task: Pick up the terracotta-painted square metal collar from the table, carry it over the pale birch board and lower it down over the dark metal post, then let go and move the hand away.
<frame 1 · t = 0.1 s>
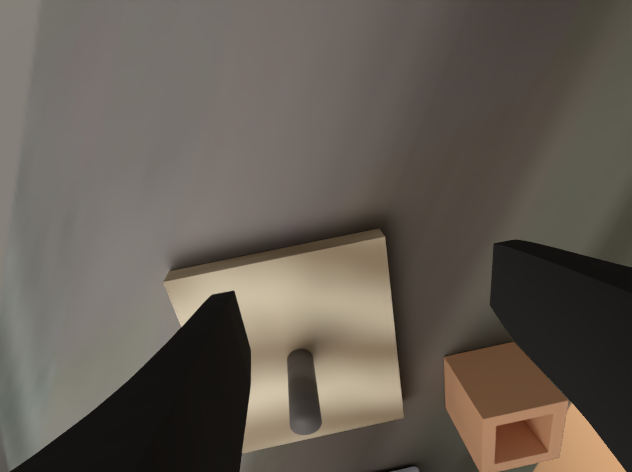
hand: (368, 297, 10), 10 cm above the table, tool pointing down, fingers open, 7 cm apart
post board: (298, 346, 23), on the table
square collar: (478, 376, 25), on the table
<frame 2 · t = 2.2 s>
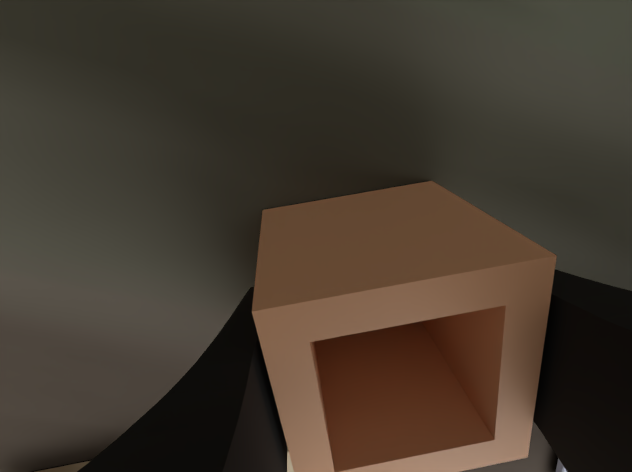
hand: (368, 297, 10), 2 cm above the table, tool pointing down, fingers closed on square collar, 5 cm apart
square collar: (356, 270, 11), on the table, touching gripper
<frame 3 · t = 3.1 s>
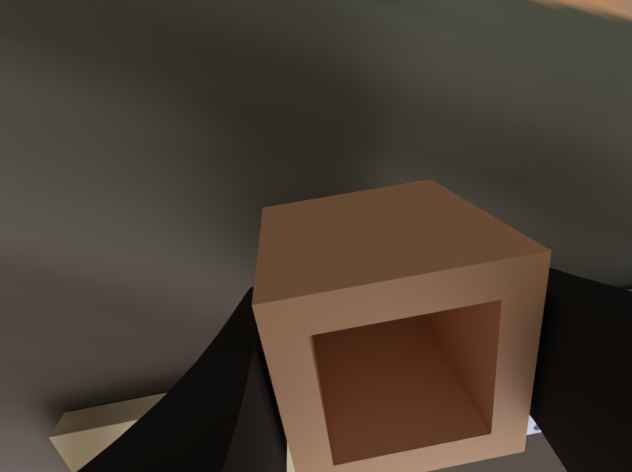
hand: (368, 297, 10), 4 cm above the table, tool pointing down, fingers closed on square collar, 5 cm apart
post board: (252, 467, 18), on the table
square collar: (355, 267, 11), point 3 cm above the table, touching gripper
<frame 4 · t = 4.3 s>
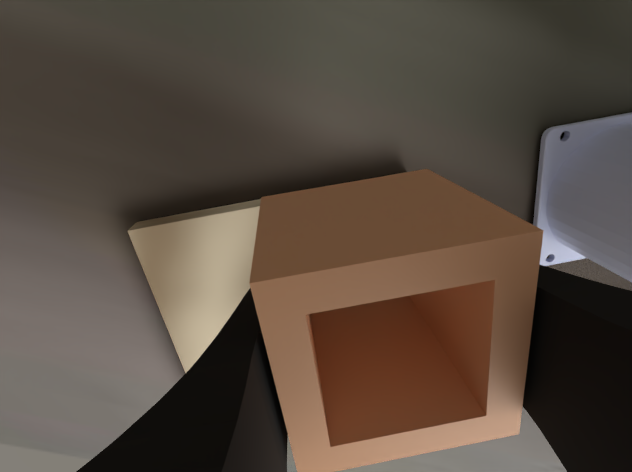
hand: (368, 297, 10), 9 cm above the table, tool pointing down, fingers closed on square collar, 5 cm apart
post board: (294, 294, 20), on the table
square collar: (353, 257, 11), point 7 cm above the table, touching gripper
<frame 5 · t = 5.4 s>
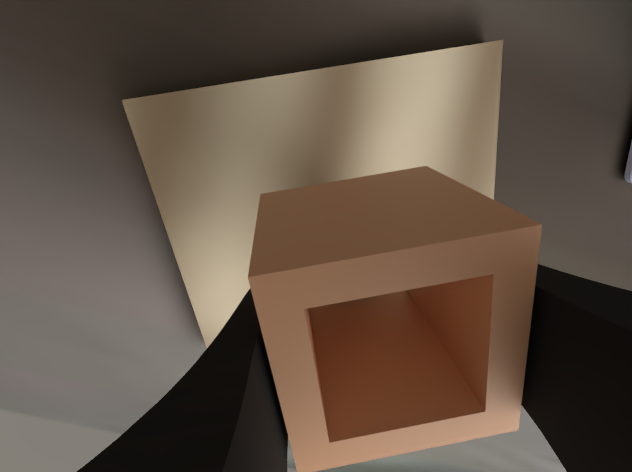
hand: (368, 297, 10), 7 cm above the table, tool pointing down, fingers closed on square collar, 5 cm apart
post board: (332, 213, 16), on the table
square collar: (352, 254, 11), point 5 cm above the table, touching gripper
when the fingers open (4 cm above the table, at t = 6.5 s): square collar drops 1 cm, resting on post board.
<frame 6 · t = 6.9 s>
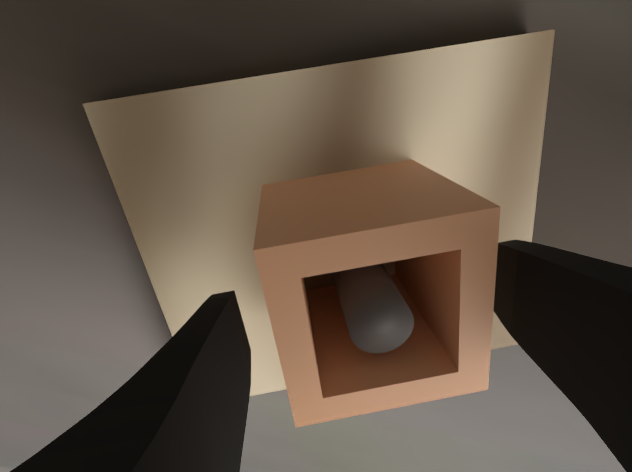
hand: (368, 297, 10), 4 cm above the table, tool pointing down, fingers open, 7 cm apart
post board: (341, 236, 14), on the table
square collar: (346, 241, 13), point 1 cm above the table, touching post board
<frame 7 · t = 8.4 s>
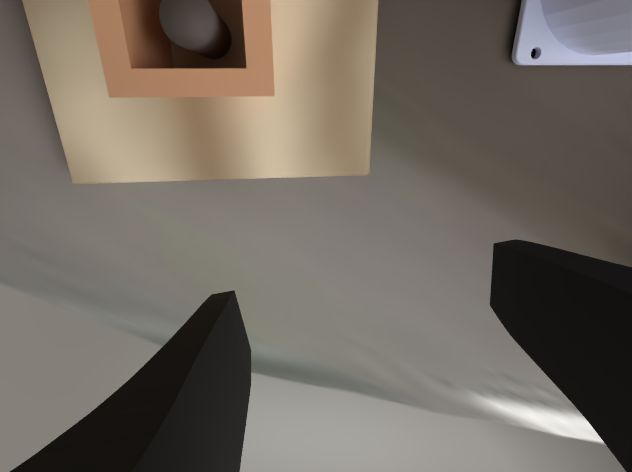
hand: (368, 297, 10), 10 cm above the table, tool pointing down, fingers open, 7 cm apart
post board: (216, 41, 16), on the table
square collar: (210, 28, 15), point 1 cm above the table, touching post board
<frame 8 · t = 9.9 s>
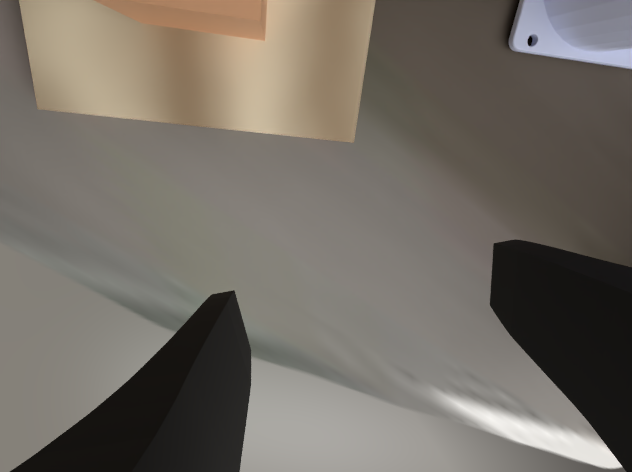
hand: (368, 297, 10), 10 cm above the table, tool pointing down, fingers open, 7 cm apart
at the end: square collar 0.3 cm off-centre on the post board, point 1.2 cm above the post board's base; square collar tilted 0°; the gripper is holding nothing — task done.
